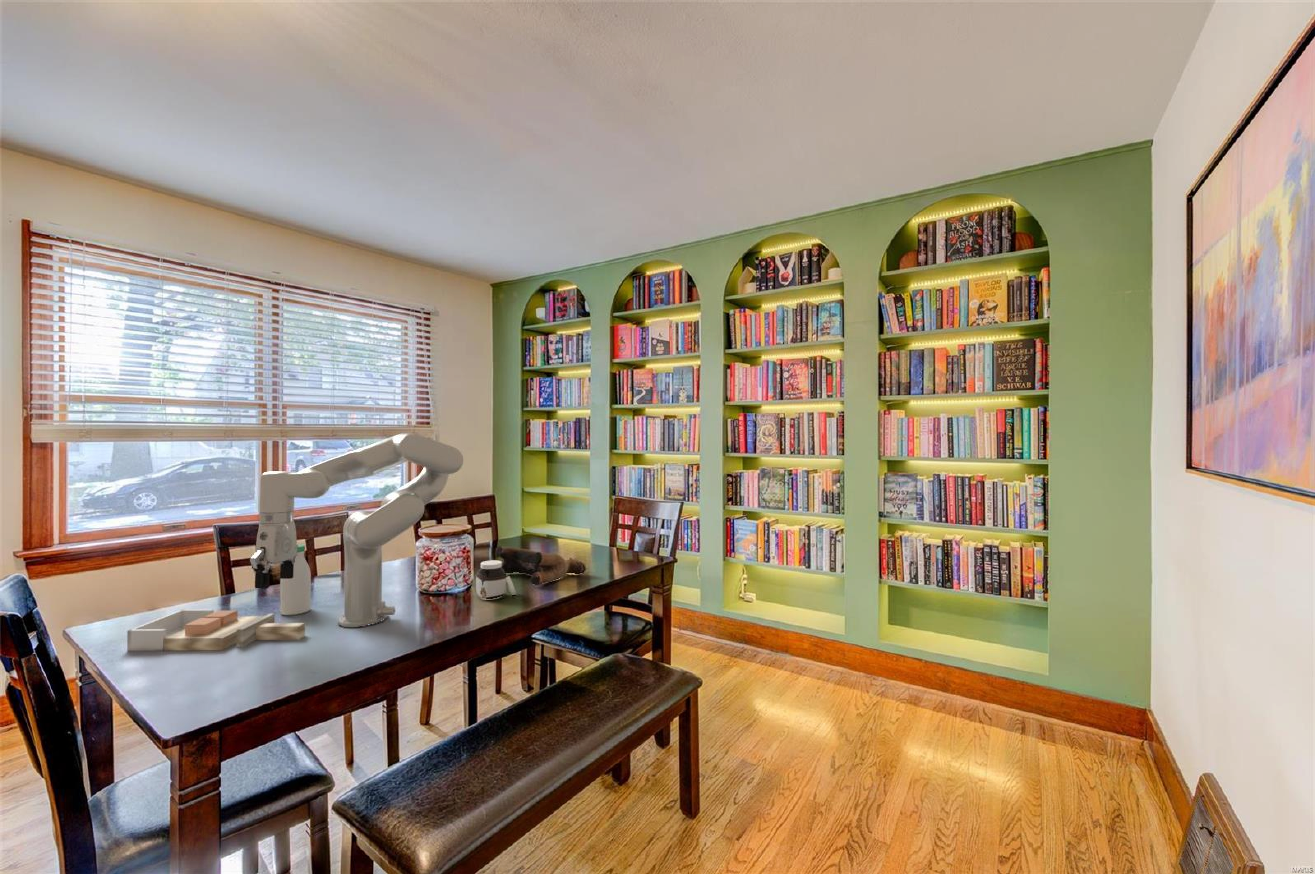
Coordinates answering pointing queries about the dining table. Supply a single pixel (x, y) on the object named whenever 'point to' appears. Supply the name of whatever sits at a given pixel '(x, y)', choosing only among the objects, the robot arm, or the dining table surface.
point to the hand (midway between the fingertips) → (274, 583)
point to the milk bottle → (296, 587)
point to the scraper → (269, 630)
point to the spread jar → (492, 580)
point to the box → (161, 630)
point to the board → (208, 637)
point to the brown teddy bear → (537, 564)
